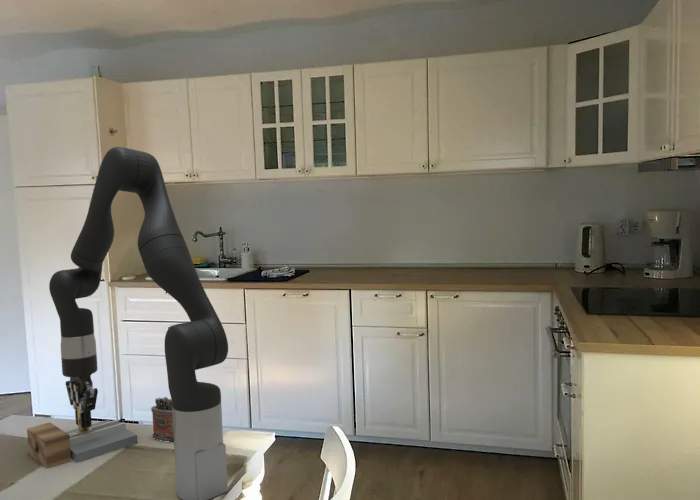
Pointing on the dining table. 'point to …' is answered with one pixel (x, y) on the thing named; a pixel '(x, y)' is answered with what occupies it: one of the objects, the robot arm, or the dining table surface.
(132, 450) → the dining table surface
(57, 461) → the jamb keeper
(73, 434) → the bolt
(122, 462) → the dining table surface
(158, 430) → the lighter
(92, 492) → the dining table surface
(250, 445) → the dining table surface
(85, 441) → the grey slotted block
